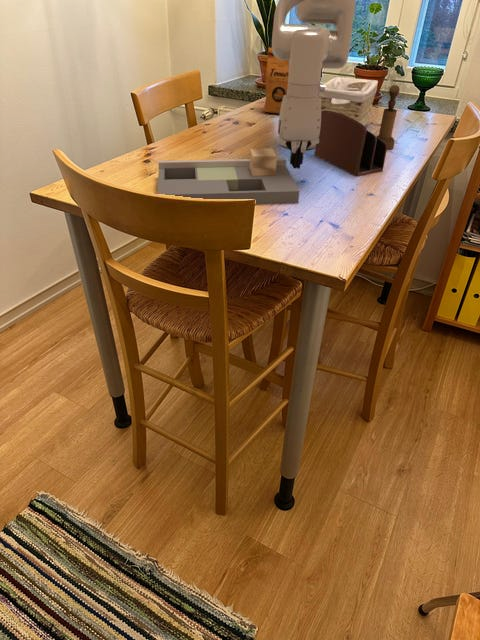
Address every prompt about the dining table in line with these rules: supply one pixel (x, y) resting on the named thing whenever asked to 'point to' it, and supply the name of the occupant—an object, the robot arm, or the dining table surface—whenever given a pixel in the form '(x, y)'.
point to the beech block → (263, 162)
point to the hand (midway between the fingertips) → (295, 166)
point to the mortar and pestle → (389, 119)
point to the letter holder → (349, 145)
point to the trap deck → (226, 181)
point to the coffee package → (275, 82)
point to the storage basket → (349, 97)
